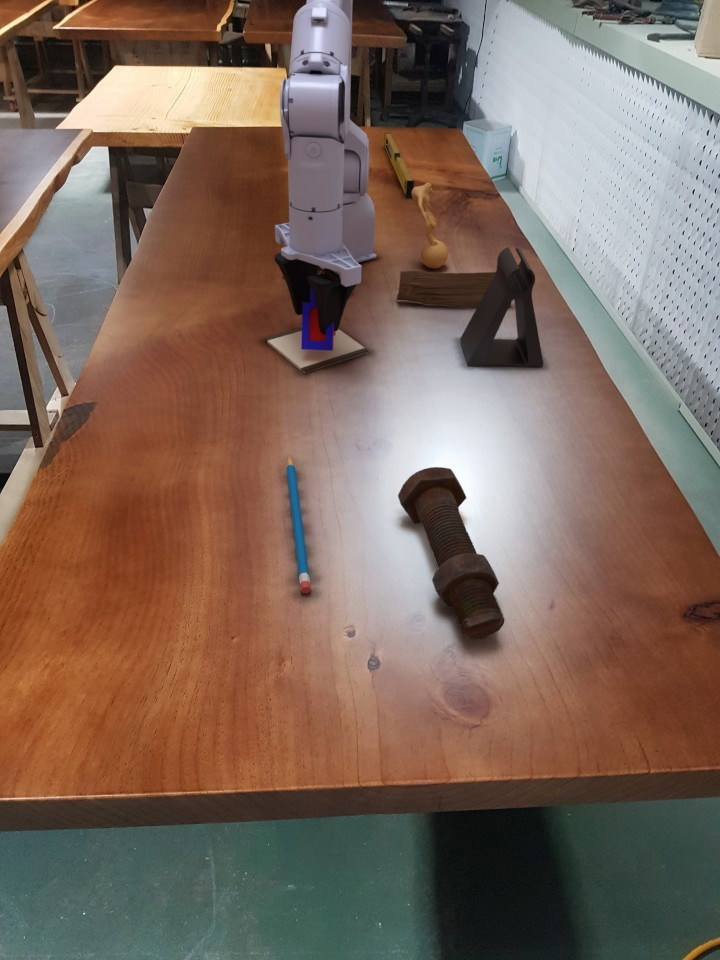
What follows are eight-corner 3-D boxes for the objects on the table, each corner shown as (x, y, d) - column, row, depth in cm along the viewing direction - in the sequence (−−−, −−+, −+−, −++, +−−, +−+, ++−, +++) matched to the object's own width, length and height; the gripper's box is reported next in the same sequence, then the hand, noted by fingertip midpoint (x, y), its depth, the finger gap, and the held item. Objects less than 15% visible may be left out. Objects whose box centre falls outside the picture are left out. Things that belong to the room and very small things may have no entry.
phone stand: (531, 342, 88) (551, 248, 81) (542, 367, 84) (565, 269, 76) (459, 341, 88) (473, 246, 80) (466, 366, 83) (481, 267, 76)
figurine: (446, 279, 102) (457, 193, 95) (404, 276, 102) (411, 190, 95) (445, 257, 109) (455, 175, 101) (406, 254, 109) (413, 172, 101)
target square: (327, 323, 90) (326, 320, 90) (368, 353, 85) (368, 350, 85) (264, 341, 86) (264, 337, 86) (304, 373, 81) (304, 370, 80)
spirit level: (412, 198, 130) (414, 180, 128) (405, 197, 130) (406, 180, 128) (390, 147, 156) (391, 132, 154) (384, 147, 155) (384, 132, 154)
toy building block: (335, 350, 85) (337, 281, 84) (332, 350, 81) (334, 278, 80) (305, 349, 85) (307, 280, 84) (301, 349, 81) (303, 276, 80)
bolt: (466, 662, 53) (416, 521, 64) (528, 633, 52) (467, 496, 63) (437, 624, 49) (389, 482, 60) (503, 593, 48) (442, 454, 59)
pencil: (300, 593, 55) (300, 587, 55) (285, 459, 68) (285, 453, 68) (311, 592, 55) (311, 586, 55) (293, 459, 68) (293, 453, 68)
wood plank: (508, 302, 97) (514, 267, 94) (511, 309, 96) (518, 273, 92) (396, 301, 96) (399, 265, 93) (397, 308, 95) (400, 272, 91)
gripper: (248, 189, 77) (255, 305, 86) (321, 231, 68) (321, 356, 77) (304, 180, 81) (305, 292, 89) (380, 219, 72) (373, 340, 80)
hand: (316, 321), depth 83 cm, fingers closed on toy building block, 5 cm apart
